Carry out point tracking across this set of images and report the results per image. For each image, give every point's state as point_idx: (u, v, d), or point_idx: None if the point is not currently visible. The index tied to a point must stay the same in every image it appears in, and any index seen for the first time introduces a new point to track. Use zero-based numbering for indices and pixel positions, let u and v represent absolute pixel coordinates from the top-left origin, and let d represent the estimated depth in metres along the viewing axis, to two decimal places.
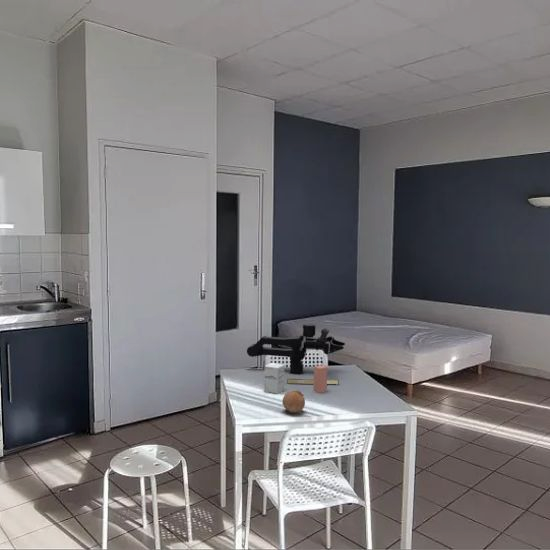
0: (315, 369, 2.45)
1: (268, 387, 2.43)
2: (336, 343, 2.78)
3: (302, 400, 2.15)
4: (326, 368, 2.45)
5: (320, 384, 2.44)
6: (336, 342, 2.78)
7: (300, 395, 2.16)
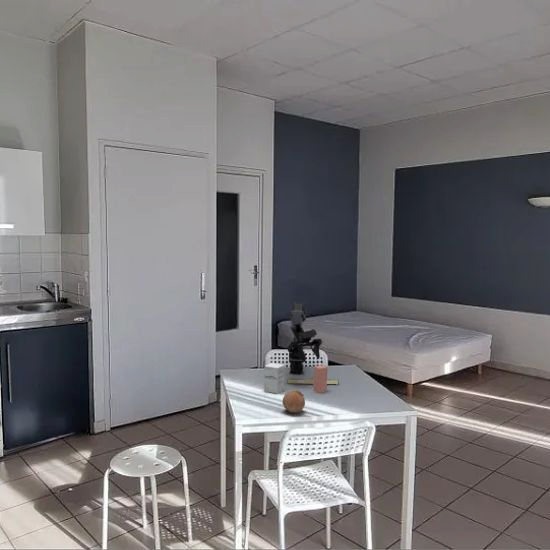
0: (315, 369, 2.45)
1: (268, 387, 2.43)
2: (315, 350, 2.58)
3: (302, 400, 2.15)
4: (326, 368, 2.45)
5: (320, 384, 2.44)
6: (316, 350, 2.58)
7: (300, 395, 2.16)
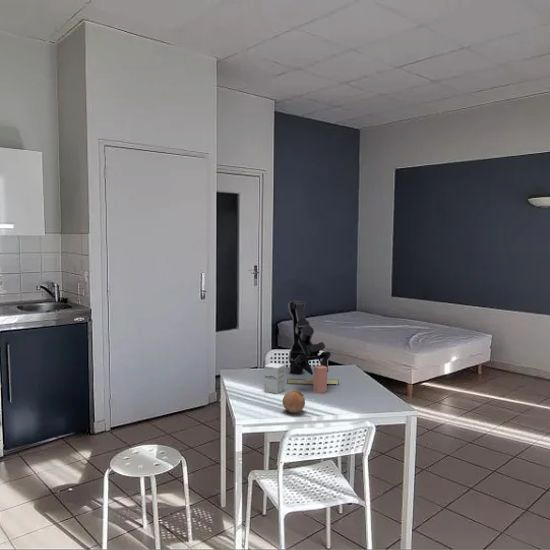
0: (315, 369, 2.45)
1: (268, 387, 2.43)
2: (324, 364, 2.51)
3: (302, 400, 2.15)
4: (326, 368, 2.45)
5: (320, 384, 2.44)
6: (324, 363, 2.51)
7: (300, 395, 2.16)
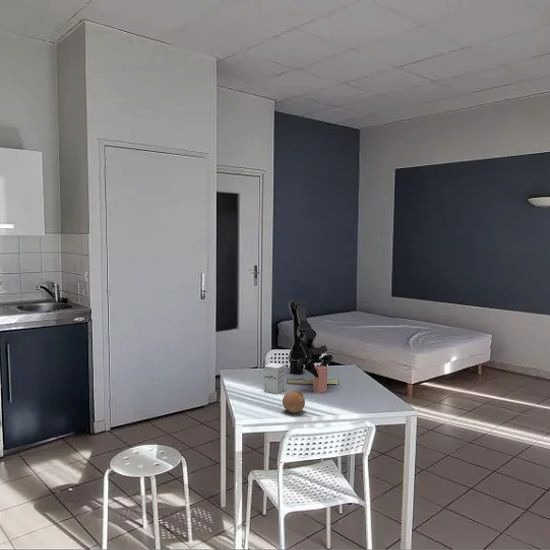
0: None
1: (268, 387, 2.43)
2: None
3: (302, 400, 2.15)
4: (326, 368, 2.45)
5: (320, 384, 2.44)
6: None
7: (300, 395, 2.16)
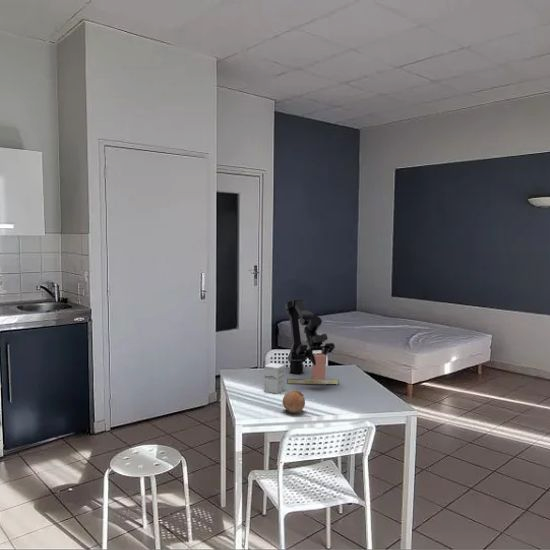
0: None
1: (268, 387, 2.43)
2: None
3: (302, 400, 2.15)
4: (324, 356, 2.47)
5: (317, 372, 2.47)
6: None
7: (300, 395, 2.16)
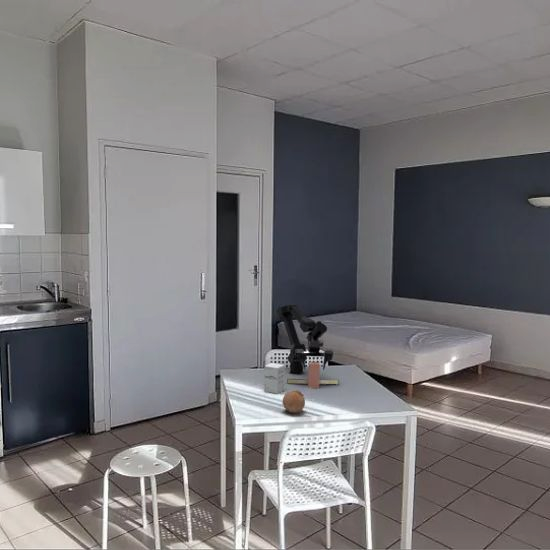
0: None
1: (268, 387, 2.43)
2: None
3: (302, 400, 2.15)
4: (318, 365, 2.51)
5: (311, 379, 2.52)
6: None
7: (300, 395, 2.16)
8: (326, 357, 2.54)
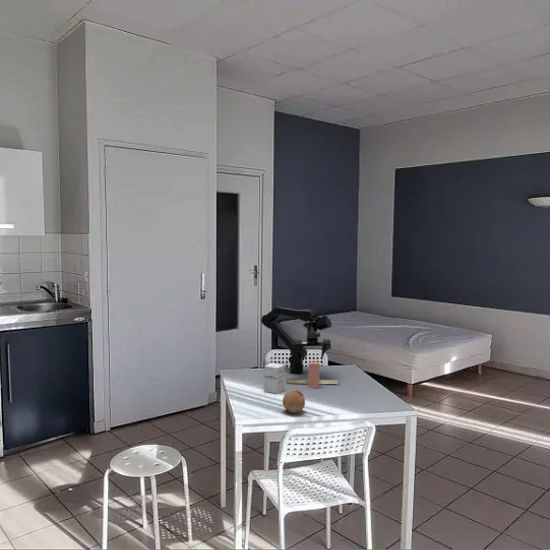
0: None
1: (268, 387, 2.43)
2: (322, 351, 2.64)
3: (302, 400, 2.15)
4: (318, 365, 2.51)
5: (311, 379, 2.52)
6: (322, 350, 2.63)
7: (300, 395, 2.16)
8: (324, 347, 2.63)
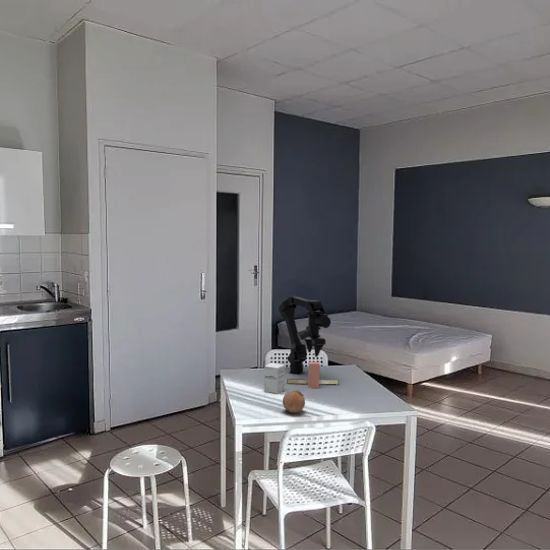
0: None
1: (268, 387, 2.43)
2: None
3: (302, 400, 2.15)
4: (318, 365, 2.51)
5: (311, 379, 2.52)
6: None
7: (300, 395, 2.16)
8: (314, 346, 2.59)
